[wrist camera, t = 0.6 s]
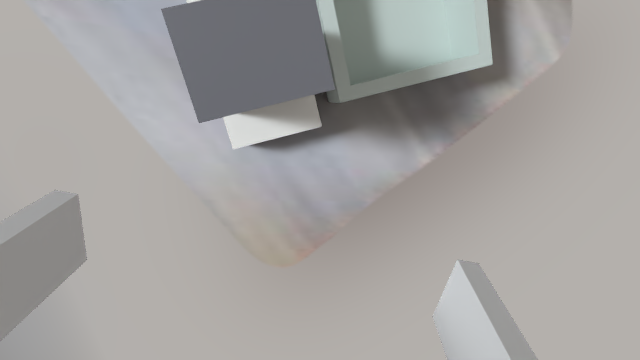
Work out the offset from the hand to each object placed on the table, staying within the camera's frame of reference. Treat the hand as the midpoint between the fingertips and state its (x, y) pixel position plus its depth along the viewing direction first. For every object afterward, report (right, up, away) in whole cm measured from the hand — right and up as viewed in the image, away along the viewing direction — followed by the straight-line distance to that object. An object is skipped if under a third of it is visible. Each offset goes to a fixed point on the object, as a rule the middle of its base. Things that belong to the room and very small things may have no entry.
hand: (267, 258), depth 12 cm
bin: (+7, +17, +16) cm, 24 cm away
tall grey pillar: (-3, +11, +15) cm, 19 cm away
